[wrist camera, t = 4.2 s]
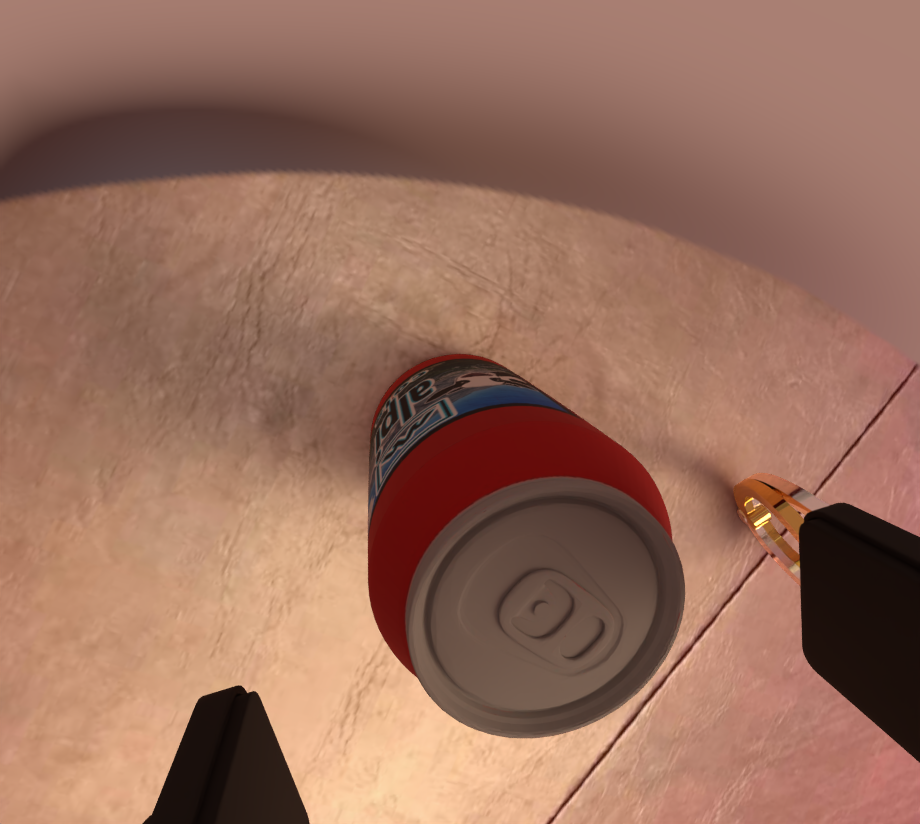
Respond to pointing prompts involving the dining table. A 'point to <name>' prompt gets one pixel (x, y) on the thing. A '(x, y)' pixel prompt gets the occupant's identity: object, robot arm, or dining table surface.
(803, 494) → the ring
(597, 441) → the beverage can
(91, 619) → the dining table surface
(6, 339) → the dining table surface
